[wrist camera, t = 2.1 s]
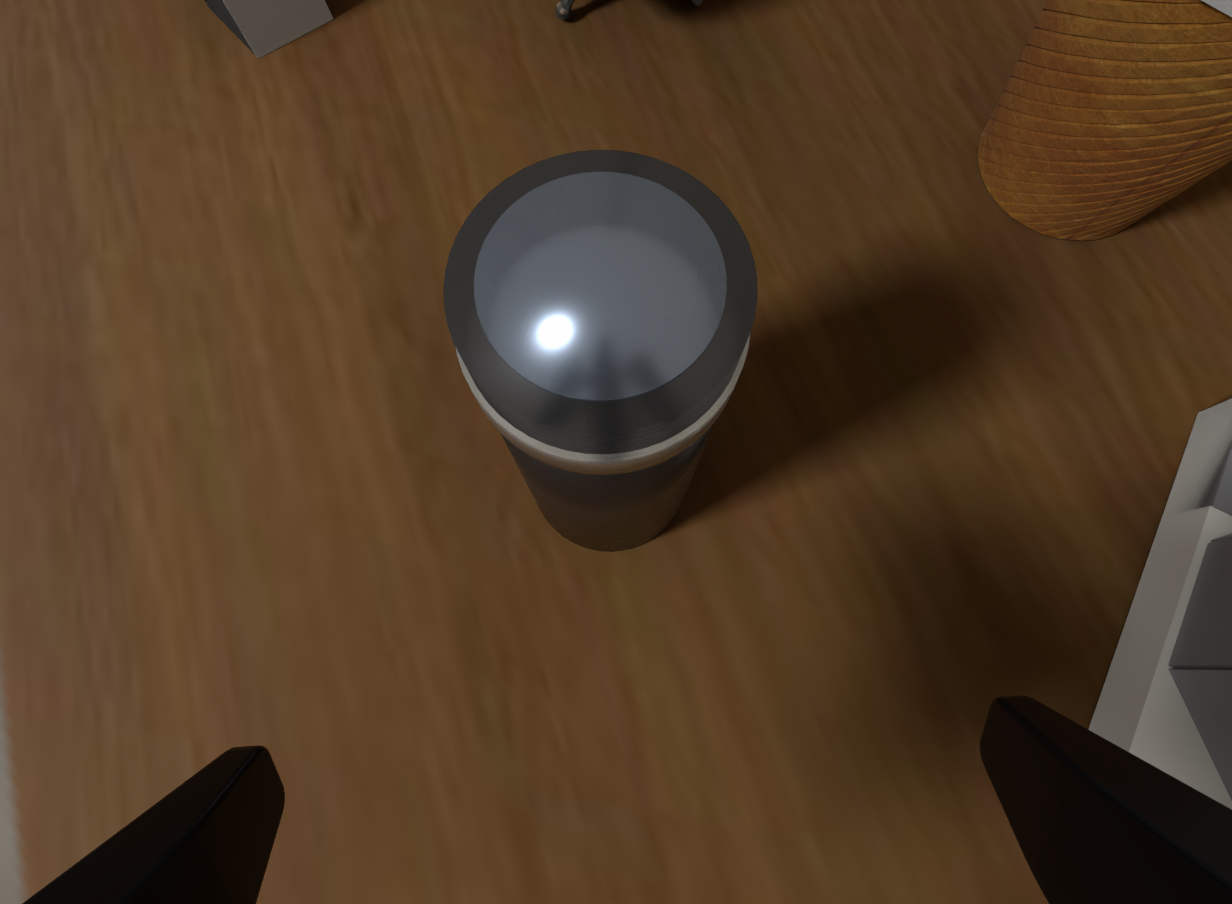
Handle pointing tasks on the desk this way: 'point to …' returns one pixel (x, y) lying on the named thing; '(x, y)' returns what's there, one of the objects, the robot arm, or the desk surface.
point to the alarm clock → (566, 4)
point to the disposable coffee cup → (1110, 113)
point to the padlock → (270, 20)
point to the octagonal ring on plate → (1182, 628)
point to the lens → (602, 333)
